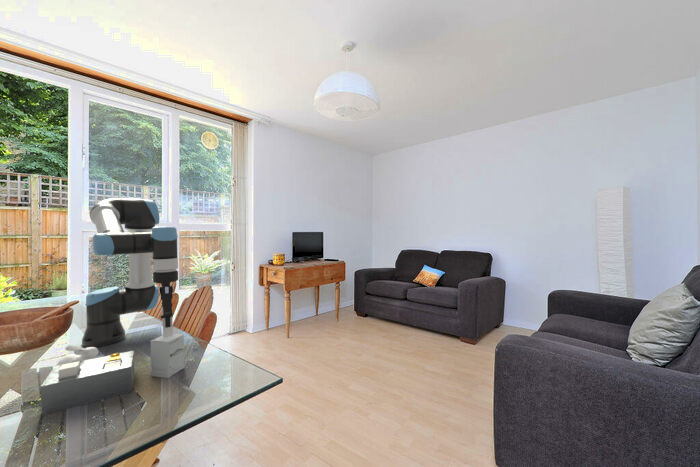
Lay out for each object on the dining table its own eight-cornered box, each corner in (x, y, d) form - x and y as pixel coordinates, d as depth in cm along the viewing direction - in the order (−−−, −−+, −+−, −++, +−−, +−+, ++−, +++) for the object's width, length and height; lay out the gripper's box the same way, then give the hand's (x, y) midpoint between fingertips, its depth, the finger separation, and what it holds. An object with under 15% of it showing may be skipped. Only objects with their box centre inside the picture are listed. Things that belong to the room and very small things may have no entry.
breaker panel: (56, 391, 93) (54, 364, 92) (134, 373, 104) (133, 349, 104) (41, 414, 81) (40, 384, 81) (131, 391, 92) (131, 364, 92)
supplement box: (168, 378, 100) (167, 341, 100) (150, 376, 101) (149, 340, 101) (185, 368, 107) (184, 333, 107) (167, 366, 109) (166, 332, 108)
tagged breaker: (105, 379, 94) (105, 364, 94) (121, 375, 96) (121, 360, 96) (104, 385, 91) (103, 369, 91) (120, 381, 93) (119, 365, 93)
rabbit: (101, 369, 106) (100, 337, 106) (84, 383, 97) (82, 347, 97) (62, 373, 104) (61, 339, 104) (40, 387, 95) (39, 351, 94)
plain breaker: (62, 380, 88) (61, 364, 88) (80, 377, 91) (79, 361, 90) (59, 387, 85) (58, 370, 85) (77, 382, 87) (76, 366, 87)
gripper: (152, 267, 111) (154, 323, 112) (152, 276, 91) (154, 344, 91) (175, 265, 116) (177, 319, 116) (180, 273, 95) (182, 339, 95)
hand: (167, 330), depth 104 cm, fingers open, 13 cm apart
